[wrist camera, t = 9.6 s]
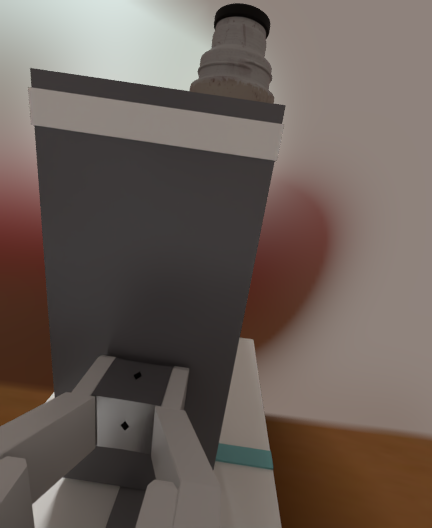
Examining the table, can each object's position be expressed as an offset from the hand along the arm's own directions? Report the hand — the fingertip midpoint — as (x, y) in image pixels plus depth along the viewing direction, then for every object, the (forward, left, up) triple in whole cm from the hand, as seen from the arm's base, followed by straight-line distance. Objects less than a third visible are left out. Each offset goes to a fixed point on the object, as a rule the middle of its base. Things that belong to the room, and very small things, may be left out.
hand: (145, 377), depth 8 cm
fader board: (0, -4, -8) cm, 9 cm away
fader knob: (0, +2, -6) cm, 6 cm away
